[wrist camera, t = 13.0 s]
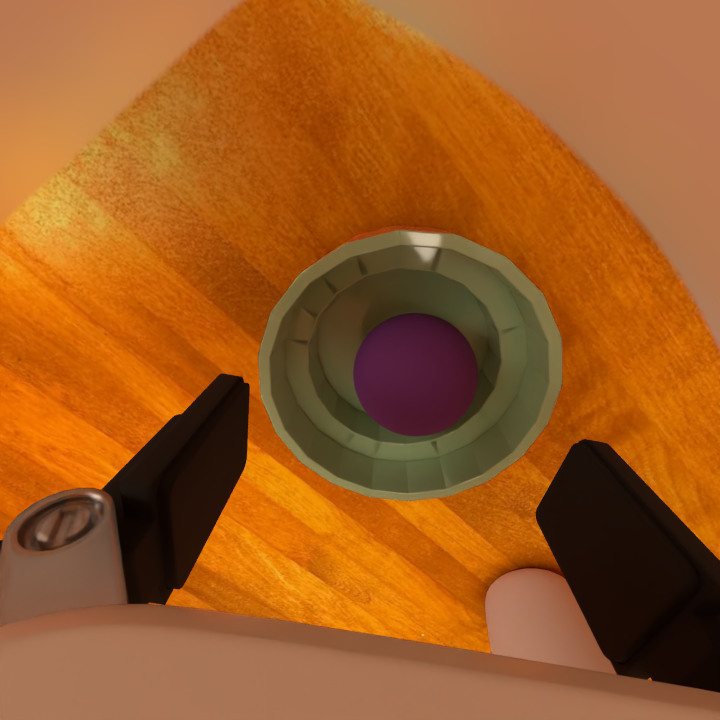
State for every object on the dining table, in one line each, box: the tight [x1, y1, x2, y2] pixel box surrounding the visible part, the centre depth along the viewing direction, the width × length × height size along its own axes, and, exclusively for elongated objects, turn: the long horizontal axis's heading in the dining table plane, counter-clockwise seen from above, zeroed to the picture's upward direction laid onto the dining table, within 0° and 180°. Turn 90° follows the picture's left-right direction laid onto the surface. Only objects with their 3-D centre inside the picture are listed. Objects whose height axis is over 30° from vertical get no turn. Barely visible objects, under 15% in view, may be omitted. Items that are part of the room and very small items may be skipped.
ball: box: [353, 313, 478, 437], centre depth 15 cm, size 6×6×6 cm
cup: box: [485, 568, 617, 675], centre depth 22 cm, size 11×8×8 cm
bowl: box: [258, 225, 563, 501], centre depth 16 cm, size 12×12×5 cm
